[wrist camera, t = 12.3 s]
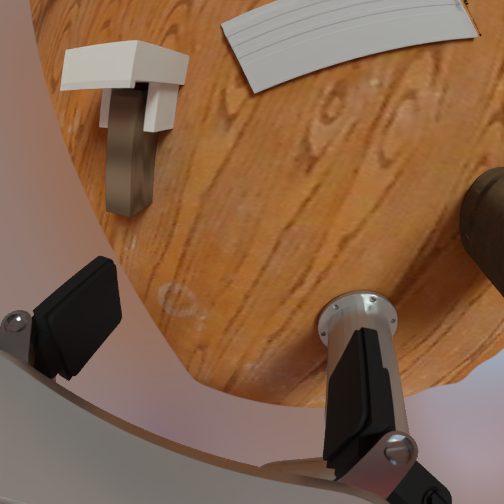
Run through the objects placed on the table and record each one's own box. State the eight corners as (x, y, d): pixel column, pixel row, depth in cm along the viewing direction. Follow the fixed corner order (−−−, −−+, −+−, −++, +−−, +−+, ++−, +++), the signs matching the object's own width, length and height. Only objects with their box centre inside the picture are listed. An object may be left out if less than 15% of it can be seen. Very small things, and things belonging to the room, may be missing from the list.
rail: (152, 202, 41) (129, 217, 35) (129, 197, 41) (106, 211, 36) (163, 91, 33) (138, 90, 28) (138, 90, 33) (111, 90, 28)
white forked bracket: (177, 129, 35) (124, 141, 24) (117, 122, 36) (57, 135, 25) (189, 56, 30) (137, 40, 20) (125, 56, 31) (65, 50, 21)
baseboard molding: (218, 18, 28) (256, 94, 32) (210, 11, 25) (251, 93, 29) (432, -35, 17) (473, 39, 21) (439, -43, 14) (483, 35, 18)
